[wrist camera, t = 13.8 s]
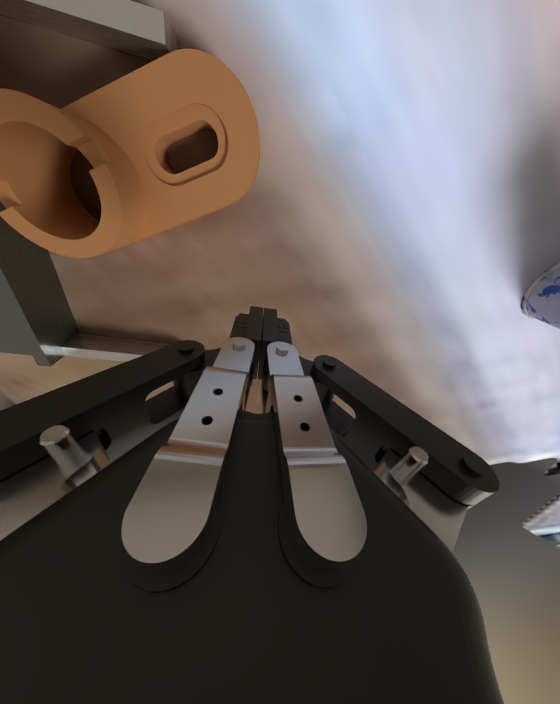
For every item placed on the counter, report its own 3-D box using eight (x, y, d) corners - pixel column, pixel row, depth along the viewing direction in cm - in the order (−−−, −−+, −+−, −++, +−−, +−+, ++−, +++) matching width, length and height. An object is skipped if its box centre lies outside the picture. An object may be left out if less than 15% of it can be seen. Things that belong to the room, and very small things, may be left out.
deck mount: (-271, -102, 11) (-577, -276, 7) (179, 42, 15) (147, -19, 11) (-3, 332, 26) (-54, 357, 22) (193, 353, 30) (182, 378, 25)
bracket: (106, 254, 22) (52, 273, 17) (29, 150, 18) (-82, 125, 12) (273, 188, 20) (276, 182, 14) (235, 47, 15) (218, -42, 10)
